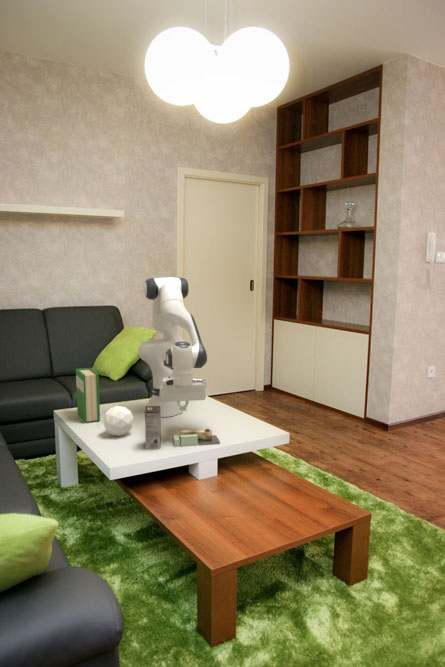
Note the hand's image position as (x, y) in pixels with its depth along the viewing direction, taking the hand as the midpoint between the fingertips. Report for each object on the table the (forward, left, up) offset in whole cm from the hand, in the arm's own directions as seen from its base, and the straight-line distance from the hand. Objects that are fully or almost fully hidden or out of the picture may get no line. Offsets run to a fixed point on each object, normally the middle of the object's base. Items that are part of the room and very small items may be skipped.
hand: (182, 410), depth 231 cm
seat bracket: (+6, 0, -13) cm, 14 cm away
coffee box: (+6, -13, -13) cm, 20 cm away
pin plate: (+5, +10, -13) cm, 17 cm away
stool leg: (+4, +5, -12) cm, 13 cm away
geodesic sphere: (-12, -28, -13) cm, 33 cm away
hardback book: (-42, -43, -13) cm, 62 cm away
